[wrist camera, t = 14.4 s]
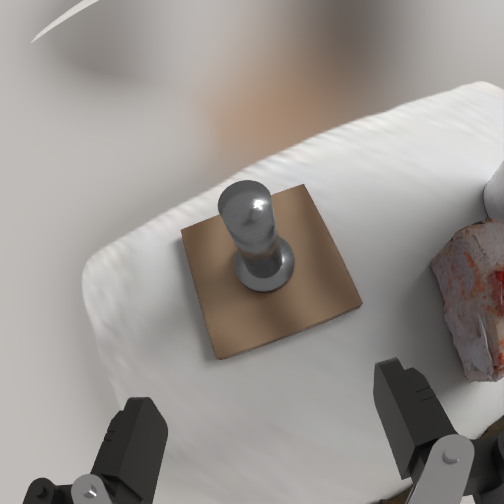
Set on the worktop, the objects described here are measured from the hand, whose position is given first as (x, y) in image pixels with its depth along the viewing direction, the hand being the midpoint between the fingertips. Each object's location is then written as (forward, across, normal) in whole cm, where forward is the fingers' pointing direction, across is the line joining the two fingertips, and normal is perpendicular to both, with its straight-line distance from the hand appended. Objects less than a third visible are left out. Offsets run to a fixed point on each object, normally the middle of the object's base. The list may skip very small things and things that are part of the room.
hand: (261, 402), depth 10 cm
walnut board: (+21, 0, +4) cm, 21 cm away
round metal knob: (+20, 0, +3) cm, 20 cm away
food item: (+14, -20, +11) cm, 27 cm away
